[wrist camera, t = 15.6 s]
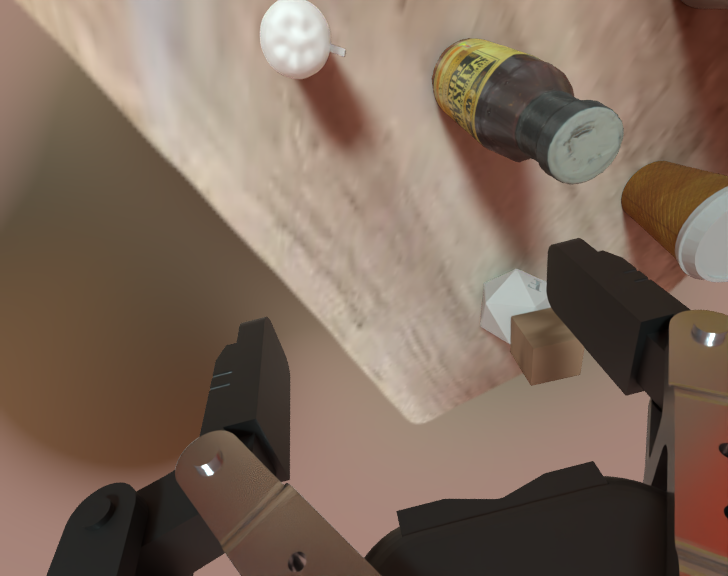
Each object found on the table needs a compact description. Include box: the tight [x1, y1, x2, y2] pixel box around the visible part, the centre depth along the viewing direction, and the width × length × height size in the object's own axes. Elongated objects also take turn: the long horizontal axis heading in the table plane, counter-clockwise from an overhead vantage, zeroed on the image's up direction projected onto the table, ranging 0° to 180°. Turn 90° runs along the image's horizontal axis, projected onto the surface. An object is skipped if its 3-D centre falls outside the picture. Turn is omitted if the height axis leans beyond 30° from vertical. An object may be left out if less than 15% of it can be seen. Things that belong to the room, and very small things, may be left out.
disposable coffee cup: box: [622, 161, 728, 282], centre depth 42 cm, size 10×10×12 cm
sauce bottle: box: [432, 38, 623, 184], centre depth 30 cm, size 7×6×20 cm
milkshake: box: [260, 0, 346, 79], centre depth 30 cm, size 5×5×10 cm
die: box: [480, 268, 551, 344], centre depth 48 cm, size 8×9×10 cm
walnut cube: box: [510, 308, 584, 386], centre depth 43 cm, size 5×5×5 cm
